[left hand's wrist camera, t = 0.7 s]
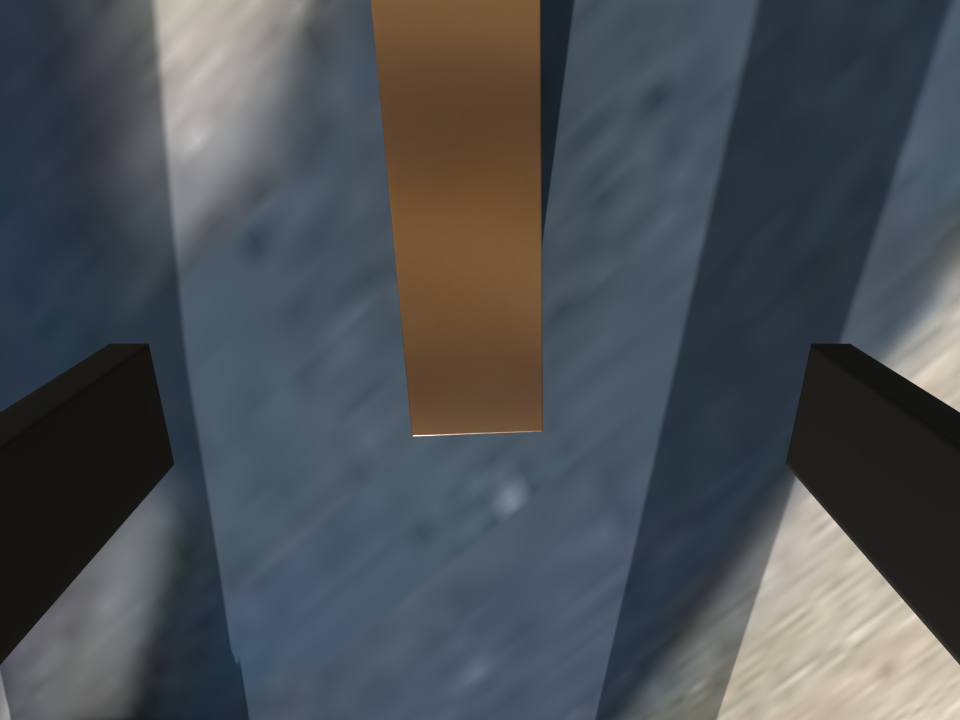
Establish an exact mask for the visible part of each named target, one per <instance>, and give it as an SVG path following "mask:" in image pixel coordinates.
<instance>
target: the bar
mask: <svg viewBox="0 0 960 720" xmlns="http://www.w3.org/2000/svg"><path fill="white" fill-rule="evenodd" d="M371 7H372V17H373V28H374V38H375V49H376V59H377V70H378V81H379V91H380V102H381V112H382V123H383V133H384V144H385V155H386V165H387V176H388V186H389V197H390V207H391V218H392V229H393V239H394V250H395V260H396V271H397V281H398V292H399V303H400V313H401V324H402V334H403V345H404V355H405V366H406V377H407V387H408V398H409V408H410V419H411V429H412V436H432V435H458V434H483V433H509V432H535V431H542V430H543V373H542V197H541V20H540V0H371Z"/></svg>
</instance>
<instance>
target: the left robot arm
mask: <svg viewBox="0 0 960 720" xmlns="http://www.w3.org/2000/svg"><path fill="white" fill-rule="evenodd" d="M173 465H174V461H173V456H172V451H171V447H170V442H169V437H168V433H167V428H166V423H165V419H164V414H163V409H162V404H161V400H160V395H159V390H158V386H157V381H156V376H155V372H154V367H153V362H152V357H151V353H150V348H149V344H109V345H107V346H106V347H104V348H102V349H101V350H99V351H98V352H96V353H94V354H93V355H91V356H90V357H88V358H86V359H85V360H83V361H82V362H80V363H78V364H77V365H75V366H74V367H72V368H71V369H69V370H67V371H66V372H64V373H63V374H61V375H59V376H58V377H56V378H55V379H53V380H51V381H50V382H48V383H47V384H45V385H43V386H42V387H40V388H39V389H37V390H35V391H34V392H32V393H31V394H29V395H27V396H26V397H24V398H23V399H21V400H19V401H18V402H16V403H15V404H13V405H11V406H10V407H8V408H7V409H5V410H3V411H2V412H0V664H1V663H2V662H3V661H4V660H5V659H6V658H7V656H8V655H9V654H10V653H11V652H12V651H13V649H14V648H15V647H16V646H17V645H18V644H19V643H20V641H21V640H22V639H23V638H24V637H25V636H26V635H27V633H28V632H29V631H30V630H31V629H32V628H33V626H34V625H35V624H36V623H37V622H38V621H39V620H40V618H41V617H42V616H43V615H44V614H45V613H46V611H47V610H48V609H49V608H50V607H51V606H52V605H53V603H54V602H55V601H56V600H57V599H58V598H59V596H60V595H61V594H62V593H63V592H64V591H65V590H66V588H67V587H68V586H69V585H70V584H71V583H72V582H73V580H74V579H75V578H76V577H77V576H78V575H79V573H80V572H81V571H82V570H83V569H84V568H85V567H86V565H87V564H88V563H89V562H90V561H91V560H92V558H93V557H94V556H95V555H96V554H97V553H98V552H99V550H100V549H101V548H102V547H103V546H104V545H105V544H106V542H107V541H108V540H109V539H110V538H111V537H112V535H113V534H114V533H115V532H116V531H117V530H118V529H119V527H120V526H121V525H122V524H123V523H124V522H125V520H126V519H127V518H128V517H129V516H130V515H131V514H132V512H133V511H134V510H135V509H136V508H137V507H138V505H139V504H140V503H141V502H142V501H143V500H144V499H145V497H146V496H147V495H148V494H149V493H150V492H151V491H152V489H153V488H154V487H155V486H156V485H157V484H158V482H159V481H160V480H161V479H162V478H163V477H164V476H165V474H166V473H167V472H168V471H169V470H170V469H171V467H172V466H173ZM786 465H787V466H788V467H789V469H790V470H791V471H792V472H793V473H794V474H795V476H796V477H797V478H798V479H799V480H800V481H801V482H802V484H803V485H804V486H805V487H806V488H807V489H808V491H809V492H810V493H811V494H812V495H813V496H814V497H815V499H816V500H817V501H818V502H819V503H820V504H821V505H822V507H823V508H824V509H825V510H826V511H827V512H828V514H829V515H830V516H831V517H832V518H833V519H834V520H835V522H836V523H837V524H838V525H839V526H840V527H841V529H842V530H843V531H844V532H845V533H846V534H847V535H848V537H849V538H850V539H851V540H852V541H853V542H854V544H855V545H856V546H857V547H858V548H859V549H860V550H861V552H862V553H863V554H864V555H865V556H866V557H867V558H868V560H869V561H870V562H871V563H872V564H873V565H874V567H875V568H876V569H877V570H878V571H879V572H880V573H881V575H882V576H883V577H884V578H885V579H886V580H887V582H888V583H889V584H890V585H891V586H892V587H893V588H894V590H895V591H896V592H897V593H898V594H899V595H900V596H901V598H902V599H903V600H904V601H905V602H906V603H907V605H908V606H909V607H910V608H911V609H912V610H913V611H914V613H915V614H916V615H917V616H918V617H919V618H920V620H921V621H922V622H923V623H924V624H925V625H926V626H927V628H928V629H929V630H930V631H931V632H932V633H933V635H934V636H935V637H936V638H937V639H938V640H939V641H940V643H941V644H942V645H943V646H944V647H945V648H946V649H947V651H948V652H949V653H950V654H951V655H952V656H953V658H954V659H955V660H956V661H957V662H958V663H959V664H960V412H958V411H957V410H955V409H953V408H952V407H950V406H949V405H947V404H945V403H944V402H942V401H941V400H939V399H937V398H936V397H934V396H933V395H931V394H929V393H928V392H926V391H925V390H923V389H921V388H920V387H918V386H917V385H915V384H913V383H912V382H910V381H909V380H907V379H905V378H904V377H902V376H901V375H899V374H897V373H896V372H894V371H893V370H891V369H889V368H888V367H886V366H885V365H883V364H882V363H880V362H878V361H877V360H875V359H874V358H872V357H870V356H869V355H867V354H866V353H864V352H862V351H861V350H859V349H858V348H856V347H854V346H853V345H851V344H811V348H810V353H809V357H808V362H807V367H806V372H805V376H804V381H803V386H802V390H801V395H800V400H799V404H798V409H797V414H796V419H795V423H794V428H793V433H792V437H791V442H790V447H789V451H788V456H787V461H786Z"/></svg>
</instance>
